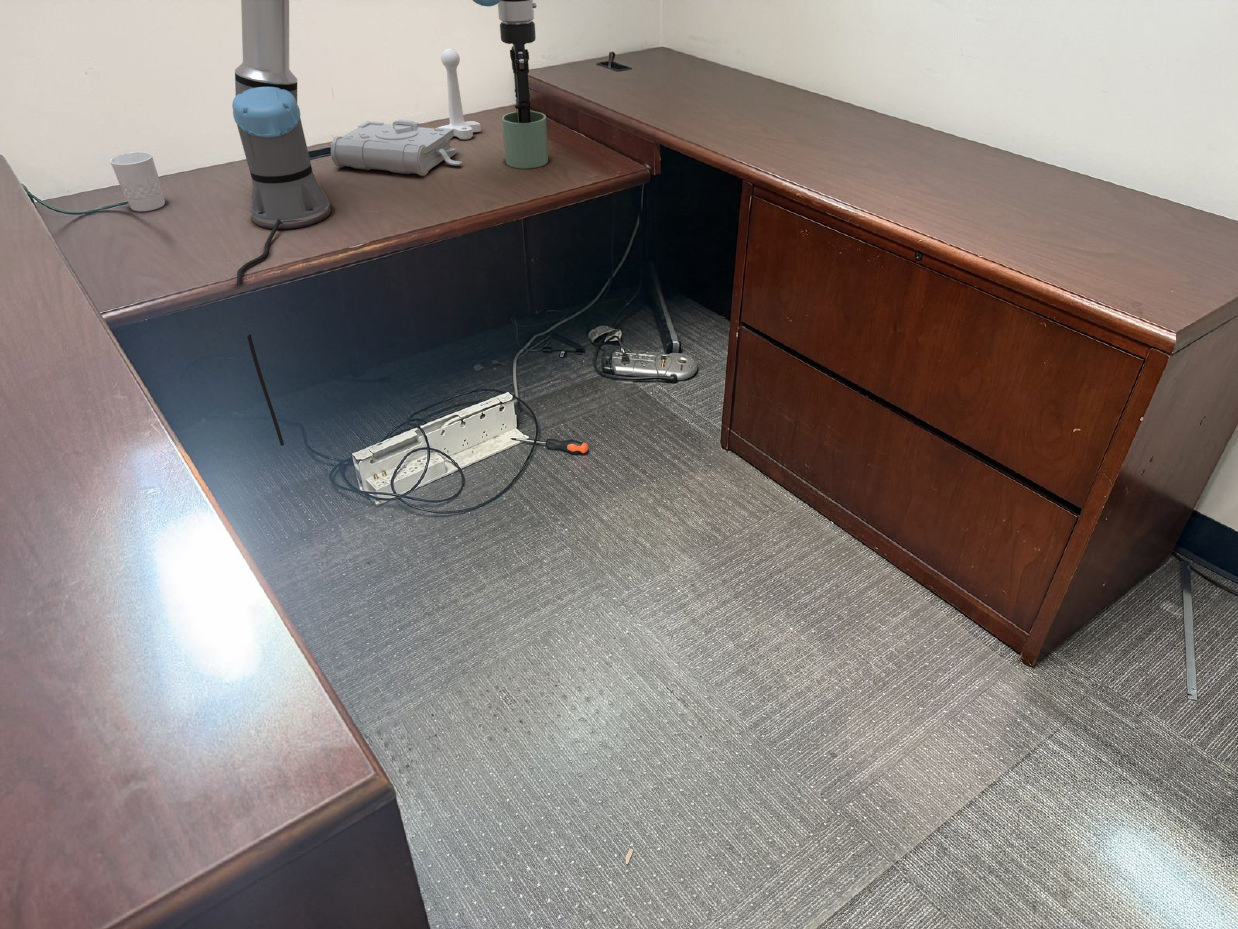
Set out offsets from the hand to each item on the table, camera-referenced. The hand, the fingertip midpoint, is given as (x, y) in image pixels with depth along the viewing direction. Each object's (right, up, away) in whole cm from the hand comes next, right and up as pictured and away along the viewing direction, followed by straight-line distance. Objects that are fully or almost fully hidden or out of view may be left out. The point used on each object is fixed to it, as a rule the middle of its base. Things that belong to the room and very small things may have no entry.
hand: (524, 132), depth 195 cm
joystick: (-18, +7, +19) cm, 27 cm away
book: (-29, -6, +4) cm, 29 cm away
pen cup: (0, -5, +4) cm, 7 cm away
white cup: (-78, -22, -17) cm, 82 cm away
